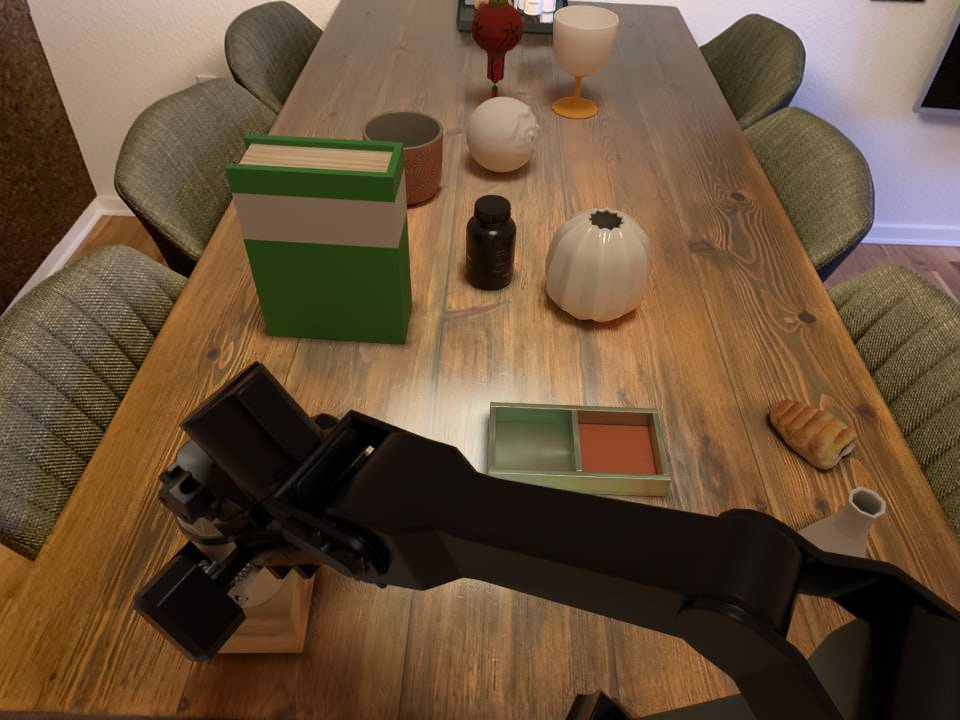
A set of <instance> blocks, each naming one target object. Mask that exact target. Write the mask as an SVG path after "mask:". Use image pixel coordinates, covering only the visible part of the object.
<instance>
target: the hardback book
mask: <svg viewBox="0 0 960 720" xmlns="http://www.w3.org/2000/svg"><path fill="white" fill-rule="evenodd" d="M243 140H244V144H245V149H246V151H245V153H244V155H243V156H242V158H241V160H240V162H239V163H230V162H229V163H227V164H226V166H225V168H224V169H225V172H226V176H227V180H228V184H229V188H230V192H231V196H232V200H233V204H234V207H235V211H236V216H237V220H238V223H239V227H240V231H241V235H242V239H243V244H244V247H245V251H246V254H247V260H248V262H249V263H248V264H249V267H250V271H251V274H252V278H253V282H254V286H255V290H256V294H257V298H258V303H259V307H260V308H261V314H262V318H263V321H264V325H265V329H266V333H267V336H269V337H283V338H284V337H285V338H298V339H299V338H300V339H302V338H303V339H314V340H315V339H316V340H317V339H318V340H331V341H346V342H347V341H348V342H363V343H377V344H378V343H379V344H393V345H405V343H406V339H407V334H408V329H409V324H410V319H411V316H412V310H413V293H412V276H411V258H410V243H409V241H410V240H409V223H408V221H409V220H408V205H407V202H406V184H405V166H404V148H403V143H400V142H383V141H365V140H363V139H362V140H361V139H344V138H327V137H310V136H291V135H274V134H273V135H272V134H258V133H257V134H255V133H253V134H252V133H245V135H244V137H243Z"/></svg>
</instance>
